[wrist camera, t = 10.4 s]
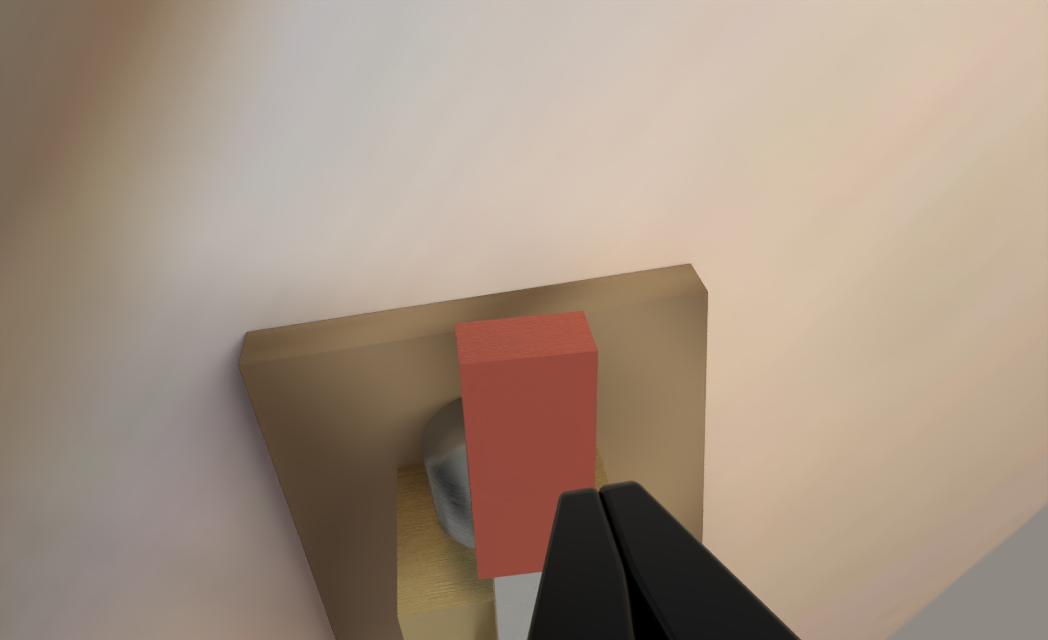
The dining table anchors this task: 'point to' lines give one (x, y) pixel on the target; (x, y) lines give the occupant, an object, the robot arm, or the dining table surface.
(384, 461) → the valve board
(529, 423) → the valve lever
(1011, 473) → the dining table surface
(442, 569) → the ball valve
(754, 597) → the robot arm
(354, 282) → the dining table surface
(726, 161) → the dining table surface
